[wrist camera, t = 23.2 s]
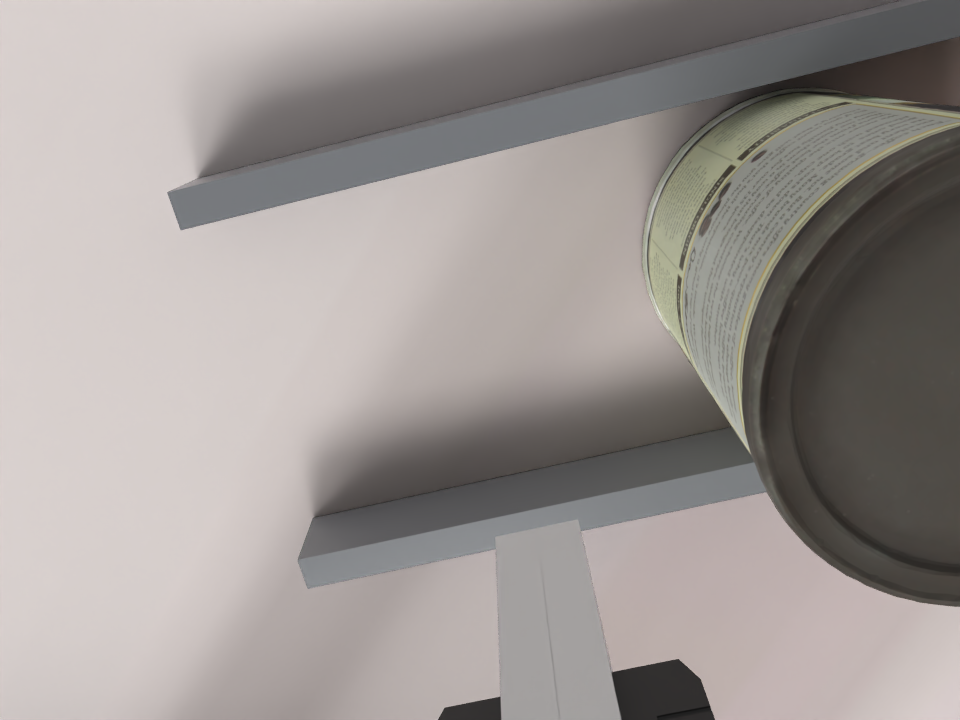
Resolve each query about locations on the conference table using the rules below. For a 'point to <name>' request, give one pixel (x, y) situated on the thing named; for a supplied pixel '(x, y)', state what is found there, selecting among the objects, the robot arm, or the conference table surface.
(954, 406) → the coffee can
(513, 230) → the conference table surface
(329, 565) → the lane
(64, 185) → the conference table surface
